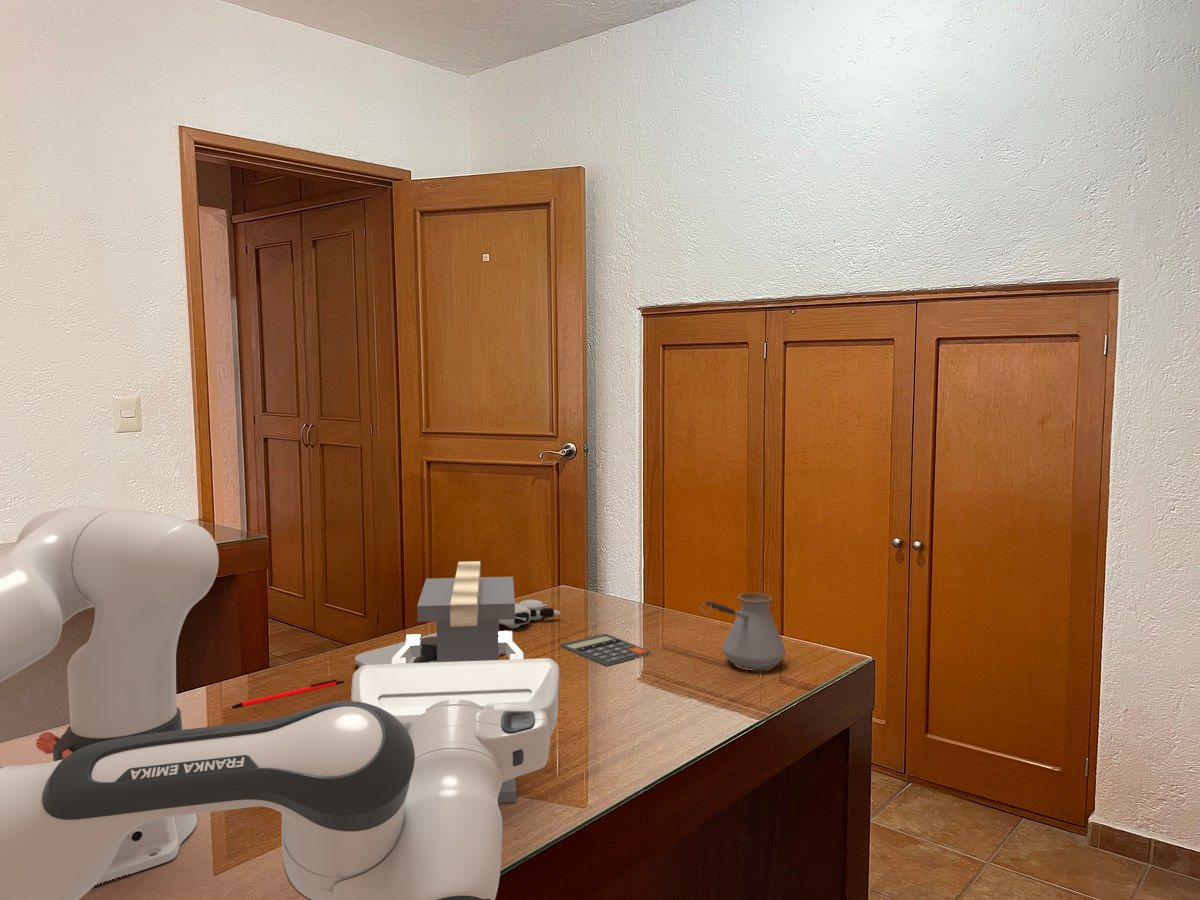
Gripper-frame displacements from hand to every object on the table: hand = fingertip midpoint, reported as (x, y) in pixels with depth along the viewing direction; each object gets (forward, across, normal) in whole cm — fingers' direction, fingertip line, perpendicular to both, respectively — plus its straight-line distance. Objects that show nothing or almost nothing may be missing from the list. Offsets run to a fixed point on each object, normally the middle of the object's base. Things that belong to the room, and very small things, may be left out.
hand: (460, 636), depth 93 cm
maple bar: (+16, 0, -11) cm, 20 cm away
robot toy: (+69, +7, -73) cm, 101 cm away
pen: (+36, -32, -53) cm, 72 cm away
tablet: (+50, -10, -62) cm, 80 cm away
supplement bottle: (+27, -7, -48) cm, 56 cm away
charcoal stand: (+7, -1, -36) cm, 37 cm away
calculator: (+52, +23, -63) cm, 85 cm away
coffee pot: (+40, +46, -56) cm, 83 cm away
